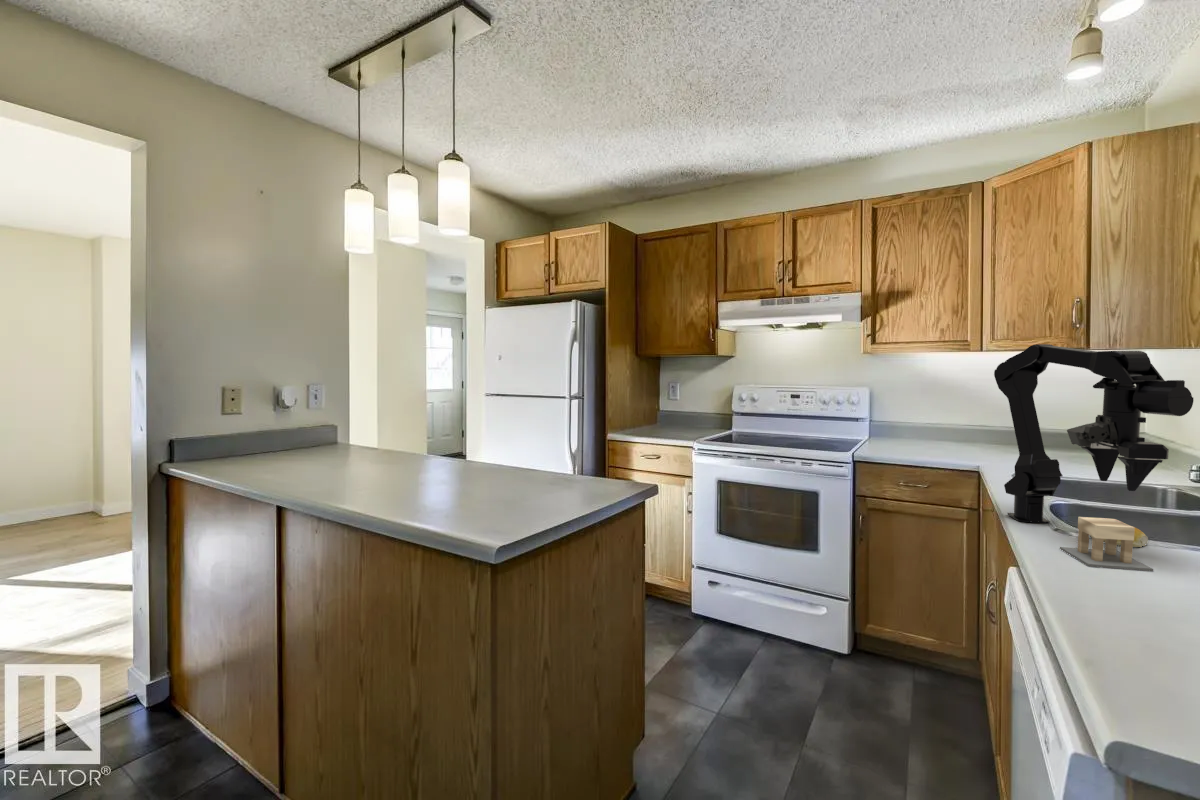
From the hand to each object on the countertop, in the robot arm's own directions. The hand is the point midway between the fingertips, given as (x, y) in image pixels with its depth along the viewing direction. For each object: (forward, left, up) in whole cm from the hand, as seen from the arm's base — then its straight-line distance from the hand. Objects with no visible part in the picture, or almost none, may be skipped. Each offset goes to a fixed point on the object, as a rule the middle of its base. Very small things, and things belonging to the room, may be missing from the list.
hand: (1116, 485), depth 114 cm
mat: (+10, -7, -13) cm, 18 cm away
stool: (+10, -7, -12) cm, 17 cm away
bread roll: (-4, +3, -13) cm, 14 cm away
